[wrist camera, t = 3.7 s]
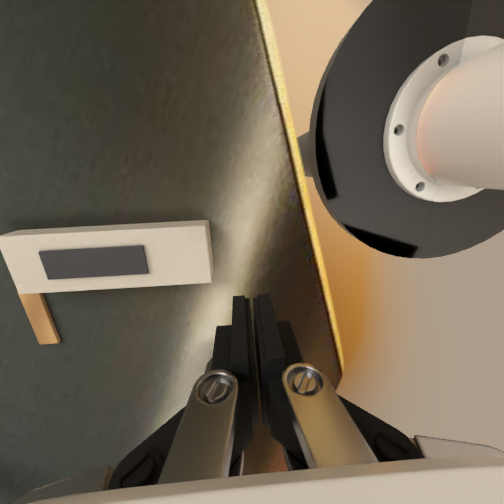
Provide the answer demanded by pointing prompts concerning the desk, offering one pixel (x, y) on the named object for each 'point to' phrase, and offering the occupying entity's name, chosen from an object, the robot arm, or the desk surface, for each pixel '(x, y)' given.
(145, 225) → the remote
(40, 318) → the wooden plank block
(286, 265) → the desk surface
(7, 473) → the desk surface
